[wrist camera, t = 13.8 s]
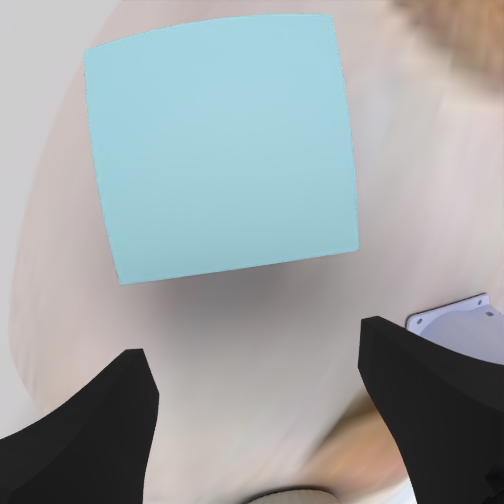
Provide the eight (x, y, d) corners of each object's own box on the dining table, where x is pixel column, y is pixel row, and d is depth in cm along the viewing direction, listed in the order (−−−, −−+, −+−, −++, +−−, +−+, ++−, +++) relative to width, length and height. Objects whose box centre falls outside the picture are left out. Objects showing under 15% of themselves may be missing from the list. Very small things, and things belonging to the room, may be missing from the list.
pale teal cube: (286, 71, 9) (330, 14, 5) (303, 209, 11) (358, 250, 6) (143, 92, 9) (83, 50, 5) (164, 229, 11) (119, 285, 6)
